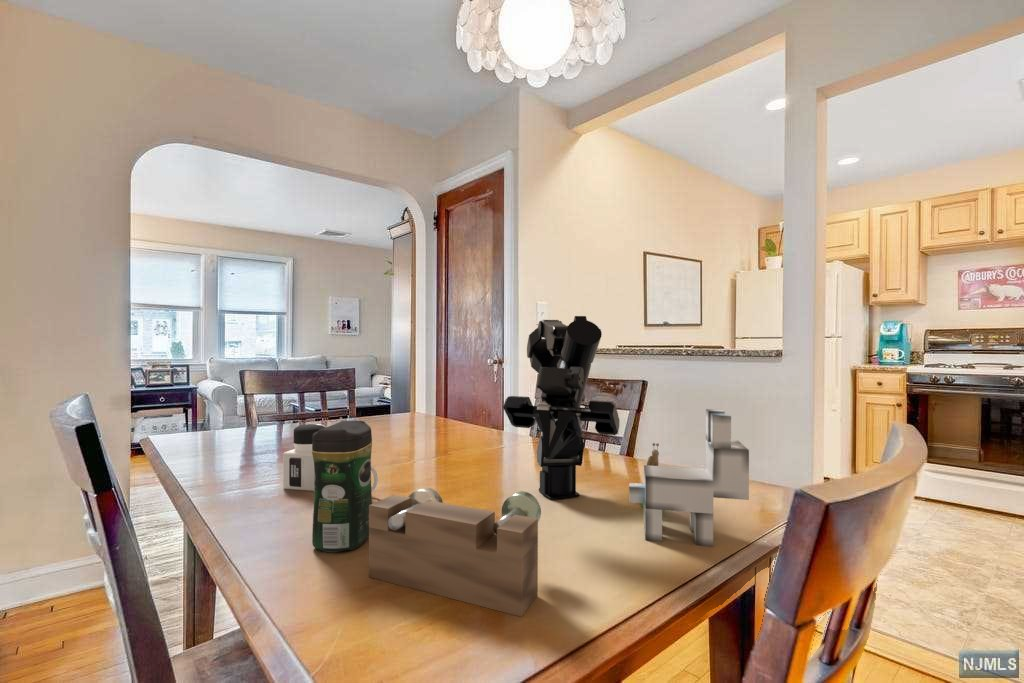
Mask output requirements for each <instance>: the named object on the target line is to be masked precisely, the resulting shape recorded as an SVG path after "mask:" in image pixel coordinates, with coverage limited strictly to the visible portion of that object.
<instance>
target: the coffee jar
mask: <svg viewBox="0 0 1024 683" xmlns="http://www.w3.org/2000/svg"><path fill="white" fill-rule="evenodd" d="M325 427H326V428H322V429H320V430H319V431H318V432H315V433H314V434H313V437H312V439H313V442H312V455H313V460H314V472H315V479H314V491H313V513H312V535H311V536H312V538H311V540H312V542H311V543H312V546H313V548H315V549H317V550H319V551H320V550H321V551H322V552H326V553H328V552H329V553H339V552H343V551H349V550H354V549H356V548H358V547H360V546H361V545H362V544H363V543H364V542H365V541H367V539H369V505H371V504H373V500H372V498H373V497H372V492H371V487H372V475H371V474H372V471H371V466H372V452H373V451H372V450H373V449H372V448H373V438H372V437H373V435H372V427H371V426H370V425H369V424H368V423H366V421H364V420H340V421H339V422H337V423H334V424H332V425H329V426H325Z"/></svg>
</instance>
